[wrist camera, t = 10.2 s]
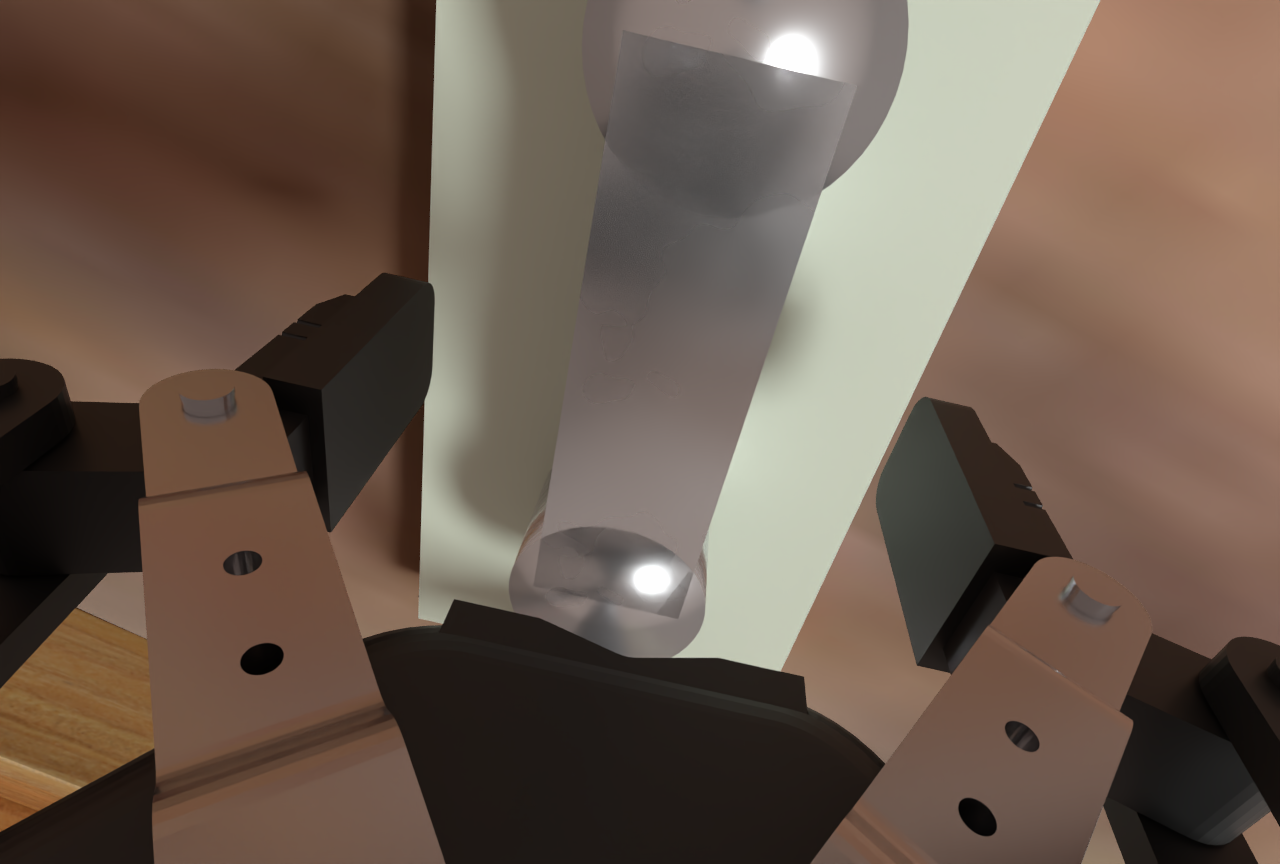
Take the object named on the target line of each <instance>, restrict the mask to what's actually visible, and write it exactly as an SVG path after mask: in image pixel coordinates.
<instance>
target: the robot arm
mask: <svg viewBox="0 0 1280 864" xmlns="http://www.w3.org/2000/svg"><path fill="white" fill-rule="evenodd" d="M434 310H435V294H434V289H433V286H432V284H431V283H428V282H424V281H419V280H415V279H410V278H406V277H402V276H397V275H393V274H388V273H382V274H380V275H379V276H378V277H377V278H376V279H375V280H373V281H372V282H371V283H370V284H369V285H368V286H366V287H365V288H364V289H363V290H362V291H361V292H360V293H358V294H357V295H356V296H355V297H354V296H350V295H346V294H345V295H342V296H339V297H336V298H333V299H331V300H328V301H325V302H322V303H319V304H316V305H315V306H314V307H312V308H311V309H310V310H309V311H307V312H306V313H305V314H304V315H303V316H301V317H300V318H299V319H298V321H297V323H295V322H294V323H293V324H291V325H290V326H289V327H288V328H286V329H285V330H284V331H283V332H282V336H281V335H278V336H276V337H275V338H274V339H273V340H272V341H270V342H269V343H268V344H267V345H265V346H264V347H263V348H262V349H260V350H259V351H258V352H257V353H255V354H254V355H253V356H252V357H250V358H249V359H248V360H247V361H245V362H244V363H243V364H242V365H241V366H239V367H238V368H237V369H236V370H226V369H206V370H197V371H190V372H185V373H181V374H178V375H174V376H171V377H169V378H166V379H164V380H161V381H160V382H158V383H156V384H154V385H153V386H152V387H150V388H149V389H148V390H147V391H146V392H145V393H144V394H143V395H142V397H141V399H140V402H139V403H107V402H73V401H70V397H69V394H68V391H67V387H66V384H65V380H64V378H63V376H62V374H61V373H60V372H59V371H58V370H56V369H55V368H53V367H51V366H49V365H46V364H44V363H40V362H36V361H31V360H24V359H0V688H1V687H2V686H3V685H4V684H5V683H6V682H7V681H8V680H9V679H10V678H11V677H12V676H13V675H14V673H15V672H16V671H17V670H18V669H19V668H20V667H21V666H22V665H23V664H24V663H25V662H26V661H27V660H28V658H29V657H30V656H31V655H32V654H33V653H34V652H35V651H36V650H37V649H38V648H39V647H40V646H41V644H42V643H43V642H44V641H45V640H46V639H47V638H48V637H49V636H50V635H51V634H52V633H53V632H54V631H55V629H56V628H57V627H58V626H59V625H60V624H61V623H62V622H63V621H64V620H65V619H66V618H67V617H68V616H69V614H70V613H71V612H72V611H73V610H74V609H75V608H76V607H77V606H78V605H79V604H80V603H81V602H82V600H83V599H84V598H85V597H86V596H87V595H88V594H89V593H90V592H91V591H92V590H93V589H94V588H95V587H96V585H97V584H98V583H99V582H100V581H101V580H102V579H103V578H104V577H105V576H106V575H107V573H121V572H143V585H144V600H145V615H146V630H147V645H148V660H149V675H150V690H151V705H152V720H153V735H154V749H152V750H150V751H148V752H146V753H144V754H143V755H141V756H139V757H137V758H135V759H133V760H132V761H130V762H128V763H126V764H124V765H122V766H120V767H119V768H117V769H115V770H113V771H111V772H109V773H108V774H106V775H104V776H102V777H100V778H98V779H97V780H95V781H93V782H91V783H89V784H87V785H85V786H84V787H82V788H80V789H78V790H76V791H74V792H73V793H71V794H69V795H67V796H65V797H63V798H62V799H60V800H58V801H56V802H54V803H52V804H51V805H49V806H47V807H45V808H43V809H41V810H39V811H38V812H36V813H34V814H32V815H30V816H28V817H27V818H25V819H23V820H21V821H19V822H17V823H16V824H14V825H12V826H10V827H8V828H6V829H5V830H3V831H1V832H0V864H1081V863H1082V860H1083V858H1084V855H1085V852H1086V850H1087V847H1088V844H1089V842H1090V839H1091V837H1092V834H1093V831H1094V829H1095V826H1096V823H1097V821H1098V818H1099V816H1100V813H1101V810H1102V808H1103V806H1104V809H1105V811H1106V814H1107V817H1108V819H1109V822H1110V825H1111V827H1112V830H1113V832H1114V835H1115V838H1116V840H1117V843H1118V846H1119V848H1120V851H1121V853H1122V856H1123V859H1124V861H1125V864H1258V862H1257V861H1256V859H1255V857H1254V855H1253V853H1252V851H1251V849H1250V847H1249V846H1248V844H1247V842H1246V840H1245V838H1244V836H1243V834H1242V833H1243V832H1244V831H1245V830H1247V829H1248V828H1249V827H1251V826H1252V825H1253V824H1255V823H1256V822H1257V821H1258V820H1260V819H1261V818H1262V817H1264V816H1265V815H1266V814H1268V813H1269V812H1270V811H1271V812H1272V814H1273V816H1274V817H1275V819H1276V821H1277V823H1278V824H1279V826H1280V646H1279V645H1277V644H1274V643H1272V642H1268V641H1265V640H1262V639H1258V638H1253V637H1237V638H1234V639H1232V640H1231V641H1230V642H1229V643H1228V644H1227V645H1226V646H1225V647H1224V648H1223V649H1222V650H1221V651H1220V652H1219V653H1218V654H1217V655H1216V656H1215V657H1214V658H1213V659H1209V658H1207V657H1205V656H1202V655H1200V654H1198V653H1196V652H1193V651H1191V650H1189V649H1186V648H1184V647H1182V646H1180V645H1177V644H1175V643H1173V642H1170V641H1168V640H1166V639H1164V638H1161V637H1159V636H1157V635H1155V634H1152V622H1151V619H1150V617H1149V615H1148V613H1147V611H1146V610H1145V608H1144V607H1143V605H1142V604H1141V603H1140V601H1139V600H1138V599H1137V598H1136V597H1135V596H1134V595H1133V594H1132V593H1131V592H1130V591H1129V590H1127V589H1126V588H1125V587H1124V586H1123V585H1121V584H1120V583H1119V582H1117V581H1116V580H1115V579H1113V578H1112V577H1110V576H1108V575H1107V574H1105V573H1104V572H1102V571H1100V570H1098V569H1096V568H1094V567H1092V566H1090V565H1087V564H1085V563H1082V562H1079V561H1076V560H1073V558H1072V556H1071V555H1070V553H1069V551H1068V549H1067V548H1066V546H1065V544H1064V542H1063V541H1062V539H1061V537H1060V535H1059V533H1058V532H1057V530H1056V528H1055V526H1054V525H1053V523H1052V521H1051V519H1050V518H1049V516H1048V514H1047V512H1046V511H1045V510H1043V509H1042V506H1043V505H1042V503H1041V502H1040V500H1039V498H1038V496H1037V495H1036V493H1035V492H1034V491H1031V490H1032V486H1031V484H1030V482H1029V481H1028V479H1027V477H1026V475H1025V473H1024V472H1023V470H1022V468H1021V466H1020V465H1019V464H1018V463H1017V462H1016V461H1015V460H1014V459H1012V458H1011V457H1010V456H1009V455H1008V454H1007V453H1006V452H1005V451H1004V450H1003V449H1002V448H1001V447H1000V446H999V445H997V444H996V443H991V441H990V439H989V437H988V435H987V433H986V431H985V430H984V428H983V426H982V424H981V422H980V420H979V418H978V416H977V415H976V413H975V411H974V410H973V409H972V408H971V407H967V406H963V405H958V404H954V403H950V402H945V401H941V400H937V399H932V398H928V397H923V398H922V399H920V400H919V401H918V402H917V403H916V405H915V406H914V408H913V410H912V412H911V414H910V416H909V418H908V420H907V422H906V424H905V426H904V428H903V430H902V432H901V434H900V436H899V438H898V441H897V443H896V445H895V447H894V449H893V451H892V453H891V455H890V457H889V459H888V461H887V463H886V465H885V467H884V469H883V472H882V474H881V477H880V480H879V483H878V488H877V494H876V508H877V513H878V516H879V520H880V524H881V528H882V532H883V536H884V540H885V544H886V548H887V551H888V555H889V559H890V563H891V567H892V571H893V575H894V579H895V582H896V586H897V590H898V594H899V598H900V602H901V606H902V610H903V613H904V617H905V621H906V625H907V629H908V633H909V637H910V641H911V645H912V648H913V652H914V656H915V660H916V664H917V666H922V667H926V668H931V669H935V670H940V671H944V672H949V673H951V676H950V677H949V679H948V680H947V681H946V683H945V684H944V686H943V687H942V688H941V690H940V691H939V692H938V694H937V695H936V696H935V698H934V699H933V700H932V702H931V703H930V704H929V706H928V707H927V708H926V710H925V711H924V713H923V714H922V715H921V717H920V718H919V719H918V721H917V722H916V723H915V725H914V726H913V727H912V729H911V730H910V731H909V733H908V734H907V736H906V737H905V738H904V740H903V741H902V742H901V744H900V745H899V746H898V748H897V749H896V750H895V752H894V753H893V754H892V756H891V757H890V758H889V760H888V761H887V763H886V764H885V763H884V762H883V761H882V760H881V759H880V758H879V757H878V756H877V755H876V754H875V753H874V752H873V751H872V750H871V749H869V748H868V747H867V746H866V745H865V744H864V743H862V742H861V741H860V740H859V739H858V738H856V737H855V736H854V735H853V734H851V733H850V732H848V731H847V730H846V729H844V728H843V727H841V726H840V725H838V724H837V723H835V722H834V721H832V720H830V719H829V718H827V717H825V716H823V715H822V714H820V713H818V712H816V711H814V710H812V709H810V708H808V707H807V704H806V693H805V683H804V677H802V676H798V675H793V674H789V673H784V672H780V671H775V670H771V669H766V668H762V667H757V666H753V665H748V664H744V663H739V662H735V661H730V660H726V659H722V658H634V657H627V656H623V655H620V654H617V653H615V652H613V651H611V650H609V649H606V648H604V647H602V646H600V645H598V644H595V643H593V642H591V641H589V640H587V639H585V638H582V637H580V636H578V635H576V634H574V633H572V632H569V631H567V630H565V629H563V628H561V627H558V626H556V625H554V624H552V623H550V622H548V621H545V620H543V619H541V618H537V617H533V616H528V615H524V614H519V613H515V612H510V611H506V610H501V609H497V608H492V607H488V606H483V605H479V604H474V603H470V602H465V601H461V600H456V599H454V600H453V602H452V605H451V607H450V609H449V611H448V614H447V616H446V618H445V620H444V623H443V625H438V626H420V627H410V628H403V629H398V630H393V631H388V632H383V633H380V634H377V635H373V636H370V637H367V638H363V639H362V636H361V633H360V630H359V627H358V624H357V621H356V618H355V615H354V612H353V609H352V606H351V603H350V600H349V597H348V594H347V590H346V587H345V584H344V581H343V578H342V575H341V572H340V569H339V566H338V563H337V560H336V557H335V554H334V551H333V548H332V545H331V542H330V539H329V536H328V532H332V530H333V529H334V527H335V526H336V525H337V523H338V522H339V520H340V519H341V518H342V516H343V515H344V513H345V512H346V511H347V509H348V508H349V507H350V505H351V504H352V502H353V501H354V500H355V498H356V497H357V495H358V494H359V493H360V491H361V490H362V488H363V487H364V486H365V484H366V483H367V481H368V480H369V479H370V477H371V476H372V474H373V473H374V472H375V470H376V469H377V467H378V466H379V465H380V463H381V462H382V460H383V459H384V458H385V456H386V455H387V453H388V452H389V451H390V449H391V448H392V446H393V445H394V444H395V442H396V441H397V439H398V438H399V437H400V435H401V434H402V432H403V431H404V430H405V428H406V427H407V425H408V424H409V423H410V421H411V420H412V418H413V417H414V416H415V414H416V413H417V411H418V410H419V409H420V407H421V406H422V404H423V402H424V400H425V398H426V396H427V393H428V390H429V386H430V382H431V377H432V366H433V338H434Z"/></svg>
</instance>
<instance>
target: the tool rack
mask: <svg viewBox="0 0 1280 864" xmlns="http://www.w3.org/2000/svg"><path fill="white" fill-rule="evenodd" d="M587 1H588V0H436V31H435V65H434V99H433V134H432V168H431V202H430V236H429V271H428V283H431V284H432V286H433V289H434V294H435V310H434V338H433V366H432V377H431V382H430V386H429V390H428V393H427V396H426V398H425V408H424V442H423V476H422V511H421V545H420V579H419V614H418V618H420V619H424V620H429V621H433V622H438V623H442V624H443V623H444V620H445V618H446V616H447V614H448V611H449V609H450V607H451V605H452V602H453V600H454V599H456V600H461V601H465V602H470V603H474V604H479V605H483V606H488V607H492V608H497V609H501V610H506V611H510V612H514V610H513V608H512V604H511V601H510V596H509V579H510V574H511V571H512V568H513V565H514V563H515V560H516V557H517V555H518V552H519V549H520V547H521V544H522V541H523V539H524V536H525V533H526V530H527V528H528V525H529V522H530V520H531V517H532V514H533V512H534V509H535V506H536V504H537V501H538V498H539V495H540V493H541V490H542V487H543V485H544V482H545V480H546V477H547V475H548V473H549V472H550V470H551V468H552V467H553V461H554V455H555V448H556V442H557V436H558V430H559V424H560V417H561V411H562V405H563V399H564V393H565V386H566V380H567V374H568V368H569V361H570V355H571V349H572V343H573V337H574V330H575V324H576V318H577V312H578V306H579V299H580V293H581V287H582V281H583V275H584V268H585V262H586V256H587V250H588V244H589V237H590V231H591V225H592V219H593V213H594V206H595V200H596V194H597V188H598V182H599V175H600V169H601V163H602V157H603V151H604V144H605V139H604V137H603V135H602V133H601V131H600V129H599V127H598V124H597V122H596V119H595V117H594V114H593V112H592V109H591V105H590V102H589V98H588V95H587V91H586V85H585V79H584V72H583V61H582V36H583V23H584V16H585V11H586V6H587ZM1099 2H1100V0H907V3H908V19H909V28H908V45H907V52H906V58H905V63H904V69H903V73H902V77H901V80H900V83H899V87H898V90H897V93H896V96H895V98H894V101H893V103H892V105H891V108H890V110H889V112H888V115H887V117H886V119H885V120H884V122H883V124H882V126H881V127H880V129H879V131H878V133H877V134H876V136H875V138H874V139H873V140H872V142H871V143H870V144H869V146H868V147H867V149H866V150H865V151H864V153H863V154H862V155H861V156H860V157H859V158H858V160H857V161H856V162H855V163H854V164H853V165H852V166H851V167H850V168H849V169H848V170H847V171H846V172H845V173H844V174H843V175H842V176H841V177H839V178H838V179H837V180H836V181H835V182H834V183H832V184H831V185H830V186H828V187H827V188H825V189H824V190H822V192H821V195H820V198H819V201H818V204H817V207H816V210H815V213H814V216H813V219H812V222H811V225H810V228H809V231H808V234H807V237H806V240H805V243H804V246H803V249H802V252H801V255H800V258H799V261H798V264H797V267H796V270H795V273H794V276H793V279H792V282H791V285H790V288H789V291H788V294H787V297H786V300H785V303H784V306H783V309H782V311H781V314H780V317H779V320H778V323H777V326H776V329H775V332H774V335H773V338H772V341H771V344H770V347H769V350H768V353H767V356H766V359H765V362H764V365H763V368H762V371H761V374H760V377H759V380H758V383H757V386H756V389H755V392H754V395H753V398H752V401H751V404H750V407H749V410H748V413H747V416H746V419H745V422H744V425H743V428H742V431H741V434H740V437H739V440H738V443H737V446H736V449H735V452H734V455H733V458H732V461H731V464H730V467H729V470H728V473H727V476H726V479H725V481H724V484H723V487H722V490H721V493H720V496H719V499H718V502H717V505H716V508H715V511H714V514H713V517H712V520H711V523H710V526H709V543H708V564H707V584H706V605H705V617H704V621H703V624H702V627H701V629H700V631H699V633H698V634H697V636H696V637H695V639H694V640H693V641H692V642H691V643H690V644H689V645H688V646H687V647H686V648H685V649H684V650H682V651H681V652H680V653H678V654H676V655H675V656H673V657H671V658H722V659H726V660H730V661H735V662H739V663H744V664H748V665H753V666H757V667H762V668H766V669H771V670H775V671H781V669H782V667H783V665H784V663H785V661H786V659H787V657H788V654H789V652H790V650H791V648H792V646H793V644H794V642H795V640H796V638H797V636H798V633H799V631H800V629H801V627H802V625H803V623H804V621H805V619H806V617H807V615H808V612H809V610H810V608H811V606H812V604H813V602H814V600H815V598H816V596H817V594H818V591H819V589H820V587H821V585H822V583H823V581H824V579H825V577H826V575H827V573H828V571H829V568H830V566H831V564H832V562H833V560H834V558H835V556H836V554H837V552H838V550H839V547H840V545H841V543H842V541H843V539H844V537H845V535H846V533H847V531H848V529H849V526H850V524H851V522H852V520H853V518H854V516H855V514H856V512H857V510H858V508H859V505H860V503H861V501H862V499H863V497H864V495H865V493H866V491H867V489H868V487H869V485H870V482H871V480H872V478H873V476H874V474H875V472H876V470H877V468H878V466H879V464H880V461H881V459H882V457H883V455H884V453H885V451H886V449H887V447H888V445H889V443H890V440H891V438H892V436H893V434H894V432H895V430H896V428H897V426H898V424H899V422H900V419H901V417H902V415H903V413H904V411H905V409H906V407H907V405H908V403H909V401H910V398H911V396H912V394H913V392H914V390H915V388H916V386H917V384H918V382H919V380H920V378H921V375H922V373H923V371H924V369H925V367H926V365H927V363H928V361H929V359H930V357H931V354H932V352H933V350H934V348H935V346H936V344H937V342H938V340H939V338H940V336H941V333H942V331H943V329H944V327H945V325H946V323H947V321H948V319H949V317H950V315H951V312H952V310H953V308H954V306H955V304H956V302H957V300H958V298H959V296H960V294H961V292H962V289H963V287H964V285H965V283H966V281H967V279H968V277H969V275H970V273H971V271H972V268H973V266H974V264H975V262H976V260H977V258H978V256H979V254H980V252H981V250H982V247H983V245H984V243H985V241H986V239H987V237H988V235H989V233H990V231H991V229H992V226H993V224H994V222H995V220H996V218H997V216H998V214H999V212H1000V210H1001V208H1002V206H1003V203H1004V201H1005V199H1006V197H1007V195H1008V193H1009V191H1010V189H1011V187H1012V185H1013V182H1014V180H1015V178H1016V176H1017V174H1018V172H1019V170H1020V168H1021V166H1022V164H1023V161H1024V159H1025V157H1026V155H1027V153H1028V151H1029V149H1030V147H1031V145H1032V143H1033V140H1034V138H1035V136H1036V134H1037V132H1038V130H1039V128H1040V126H1041V124H1042V122H1043V120H1044V117H1045V115H1046V113H1047V111H1048V109H1049V107H1050V105H1051V103H1052V101H1053V99H1054V96H1055V94H1056V92H1057V90H1058V88H1059V86H1060V84H1061V82H1062V80H1063V78H1064V75H1065V73H1066V71H1067V69H1068V67H1069V65H1070V63H1071V61H1072V59H1073V57H1074V54H1075V52H1076V50H1077V48H1078V46H1079V44H1080V42H1081V40H1082V38H1083V36H1084V34H1085V31H1086V29H1087V27H1088V25H1089V23H1090V21H1091V19H1092V17H1093V15H1094V13H1095V10H1096V8H1097V6H1098V4H1099Z"/></svg>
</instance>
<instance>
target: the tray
mask: <svg viewBox="0 0 1280 864" xmlns="http://www.w3.org/2000/svg"><path fill="white" fill-rule="evenodd" d="M152 749H154V735H153V720H152V705H151V690H150V675H149V660H148V645H147V639H145V638H143V637H140V636H138V635H136V634H134V633H131V632H129V631H127V630H125V629H122V628H120V627H118V626H116V625H113V624H111V623H109V622H107V621H104V620H102V619H100V618H98V617H96V616H93V615H91V614H89V613H87V612H84V611H82V610H80V609H78V608H75V609H74V610H73V611H72V612H71V613H70V614H69V616H68V617H67V618H66V619H65V620H64V621H63V622H62V623H61V624H60V625H59V626H58V627H57V628H56V629H55V631H54V632H53V633H52V634H51V635H50V636H49V637H48V638H47V639H46V640H45V641H44V642H43V643H42V644H41V646H40V647H39V648H38V649H37V650H36V651H35V652H34V653H33V654H32V655H31V656H30V657H29V658H28V660H27V661H26V662H25V663H24V664H23V665H22V666H21V667H20V668H19V669H18V670H17V671H16V672H15V673H14V675H13V676H12V677H11V678H10V679H9V680H8V681H7V682H6V683H5V684H4V685H3V686H2V687H1V688H0V832H1V831H3V830H5V829H6V828H8V827H10V826H12V825H14V824H16V823H17V822H19V821H21V820H23V819H25V818H27V817H28V816H30V815H32V814H34V813H36V812H38V811H39V810H41V809H43V808H45V807H47V806H49V805H51V804H52V803H54V802H56V801H58V800H60V799H62V798H63V797H65V796H67V795H69V794H71V793H73V792H74V791H76V790H78V789H80V788H82V787H84V786H85V785H87V784H89V783H91V782H93V781H95V780H97V779H98V778H100V777H102V776H104V775H106V774H108V773H109V772H111V771H113V770H115V769H117V768H119V767H120V766H122V765H124V764H126V763H128V762H130V761H132V760H133V759H135V758H137V757H139V756H141V755H143V754H144V753H146V752H148V751H150V750H152Z"/></svg>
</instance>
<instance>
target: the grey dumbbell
mask: <svg viewBox="0 0 1280 864" xmlns="http://www.w3.org/2000/svg"><path fill="white" fill-rule="evenodd" d="M908 28H909V19H908V3H907V0H588V1H587V6H586V11H585V16H584V23H583V36H582V61H583V72H584V79H585V85H586V91H587V95H588V98H589V102H590V105H591V109H592V112H593V114H594V117H595V119H596V122H597V124H598V127H599V129H600V131H601V133H602V135H603V137H604V139H605V144H604V151H603V157H602V163H601V169H600V175H599V182H598V188H597V194H596V200H595V206H594V213H593V219H592V225H591V231H590V237H589V244H588V250H587V256H586V262H585V268H584V275H583V281H582V287H581V293H580V299H579V306H578V312H577V318H576V324H575V330H574V337H573V343H572V349H571V355H570V361H569V368H568V374H567V380H566V386H565V393H564V399H563V405H562V411H561V417H560V424H559V430H558V436H557V442H556V448H555V455H554V461H553V467H552V468H551V470H550V472H549V473H548V475H547V477H546V480H545V482H544V485H543V487H542V490H541V493H540V495H539V498H538V501H537V504H536V506H535V509H534V512H533V514H532V517H531V520H530V522H529V525H528V528H527V530H526V533H525V536H524V539H523V541H522V544H521V547H520V549H519V552H518V555H517V557H516V560H515V563H514V565H513V568H512V571H511V574H510V579H509V596H510V601H511V604H512V608H513V610H514V612H515V613H519V614H524V615H528V616H533V617H537V618H541V619H543V620H545V621H548V622H550V623H552V624H554V625H556V626H558V627H561V628H563V629H565V630H567V631H569V632H572V633H574V634H576V635H578V636H580V637H582V638H585V639H587V640H589V641H591V642H593V643H595V644H598V645H600V646H602V647H604V648H606V649H609V650H611V651H613V652H615V653H617V654H620V655H623V656H627V657H634V658H671V657H673V656H675V655H676V654H678V653H680V652H681V651H682V650H684V649H685V648H686V647H687V646H688V645H689V644H690V643H691V642H692V641H693V640H694V639H695V637H696V636H697V634H698V633H699V631H700V629H701V627H702V624H703V621H704V617H705V605H706V584H707V564H708V543H709V526H710V523H711V520H712V517H713V514H714V511H715V508H716V505H717V502H718V499H719V496H720V493H721V490H722V487H723V484H724V481H725V479H726V476H727V473H728V470H729V467H730V464H731V461H732V458H733V455H734V452H735V449H736V446H737V443H738V440H739V437H740V434H741V431H742V428H743V425H744V422H745V419H746V416H747V413H748V410H749V407H750V404H751V401H752V398H753V395H754V392H755V389H756V386H757V383H758V380H759V377H760V374H761V371H762V368H763V365H764V362H765V359H766V356H767V353H768V350H769V347H770V344H771V341H772V338H773V335H774V332H775V329H776V326H777V323H778V320H779V317H780V314H781V311H782V309H783V306H784V303H785V300H786V297H787V294H788V291H789V288H790V285H791V282H792V279H793V276H794V273H795V270H796V267H797V264H798V261H799V258H800V255H801V252H802V249H803V246H804V243H805V240H806V237H807V234H808V231H809V228H810V225H811V222H812V219H813V216H814V213H815V210H816V207H817V204H818V201H819V198H820V195H821V192H822V190H824V189H825V188H827V187H828V186H830V185H831V184H832V183H834V182H835V181H836V180H837V179H838V178H839V177H841V176H842V175H843V174H844V173H845V172H846V171H847V170H848V169H849V168H850V167H851V166H852V165H853V164H854V163H855V162H856V161H857V160H858V158H859V157H860V156H861V155H862V154H863V153H864V151H865V150H866V149H867V147H868V146H869V144H870V143H871V142H872V140H873V139H874V138H875V136H876V134H877V133H878V131H879V129H880V127H881V126H882V124H883V122H884V120H885V119H886V117H887V115H888V112H889V110H890V108H891V105H892V103H893V101H894V98H895V96H896V93H897V90H898V87H899V83H900V80H901V77H902V73H903V69H904V63H905V58H906V52H907V45H908Z"/></svg>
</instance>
